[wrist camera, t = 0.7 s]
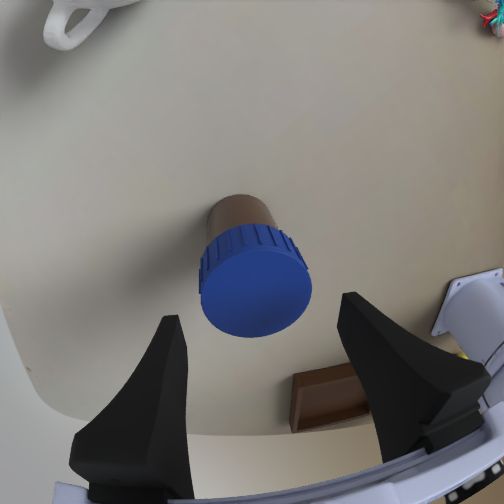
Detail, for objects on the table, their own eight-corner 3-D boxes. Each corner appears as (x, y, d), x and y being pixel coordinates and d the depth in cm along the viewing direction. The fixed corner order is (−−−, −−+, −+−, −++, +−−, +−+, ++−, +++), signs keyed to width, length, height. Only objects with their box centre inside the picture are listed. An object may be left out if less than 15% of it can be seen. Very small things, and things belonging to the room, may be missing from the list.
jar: (271, 191, 20) (303, 248, 14) (272, 249, 22) (299, 320, 16) (203, 197, 20) (203, 259, 13) (210, 256, 22) (215, 331, 16)
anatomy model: (524, 67, 12) (556, 39, 10) (475, -32, 8) (514, -47, 6) (482, 58, 16) (517, 33, 14) (435, -23, 13) (475, -42, 10)
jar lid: (300, 217, 15) (316, 242, 13) (297, 299, 18) (309, 330, 16) (192, 227, 15) (191, 255, 13) (206, 311, 18) (207, 344, 16)
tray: (388, 352, 32) (395, 364, 30) (367, 403, 37) (371, 414, 36) (293, 373, 30) (298, 388, 29) (289, 421, 36) (292, 433, 35)
